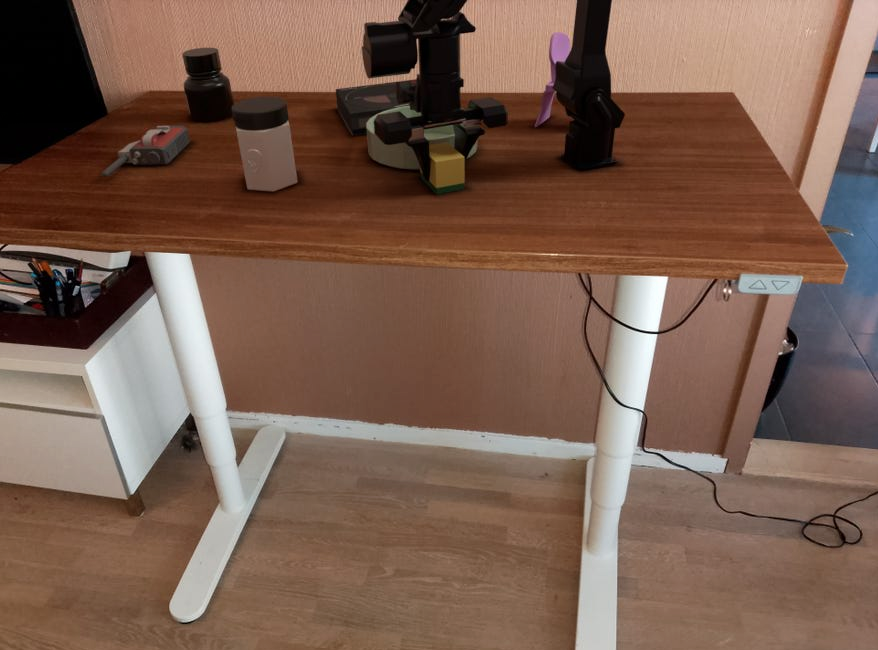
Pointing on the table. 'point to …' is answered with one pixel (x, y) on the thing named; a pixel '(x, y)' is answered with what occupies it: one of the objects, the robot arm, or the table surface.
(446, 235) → the table surface
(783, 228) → the table surface
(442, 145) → the sponge
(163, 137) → the walkie-talkie
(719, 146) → the table surface
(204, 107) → the ink bottle
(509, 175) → the table surface
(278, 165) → the jar
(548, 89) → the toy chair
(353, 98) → the portable cd player
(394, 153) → the bowl
